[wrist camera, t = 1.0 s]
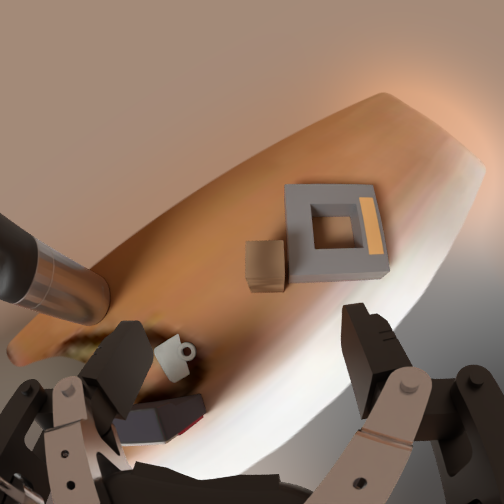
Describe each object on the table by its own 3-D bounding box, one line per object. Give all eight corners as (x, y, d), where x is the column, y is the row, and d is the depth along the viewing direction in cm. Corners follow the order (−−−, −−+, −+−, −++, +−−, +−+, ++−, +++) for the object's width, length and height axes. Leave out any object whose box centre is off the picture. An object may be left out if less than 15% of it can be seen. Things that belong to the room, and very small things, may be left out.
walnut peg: (251, 292, 39) (245, 277, 31) (251, 262, 40) (245, 241, 33) (283, 292, 38) (284, 276, 31) (282, 261, 40) (283, 240, 32)
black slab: (142, 425, 32) (83, 449, 18) (134, 400, 34) (72, 413, 20) (209, 416, 33) (170, 449, 19) (200, 389, 34) (155, 407, 20)
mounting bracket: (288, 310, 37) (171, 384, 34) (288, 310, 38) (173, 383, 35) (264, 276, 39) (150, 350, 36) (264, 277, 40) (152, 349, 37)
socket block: (288, 283, 39) (289, 275, 35) (284, 198, 44) (284, 183, 40) (380, 279, 37) (390, 270, 34) (366, 198, 42) (373, 184, 39)
